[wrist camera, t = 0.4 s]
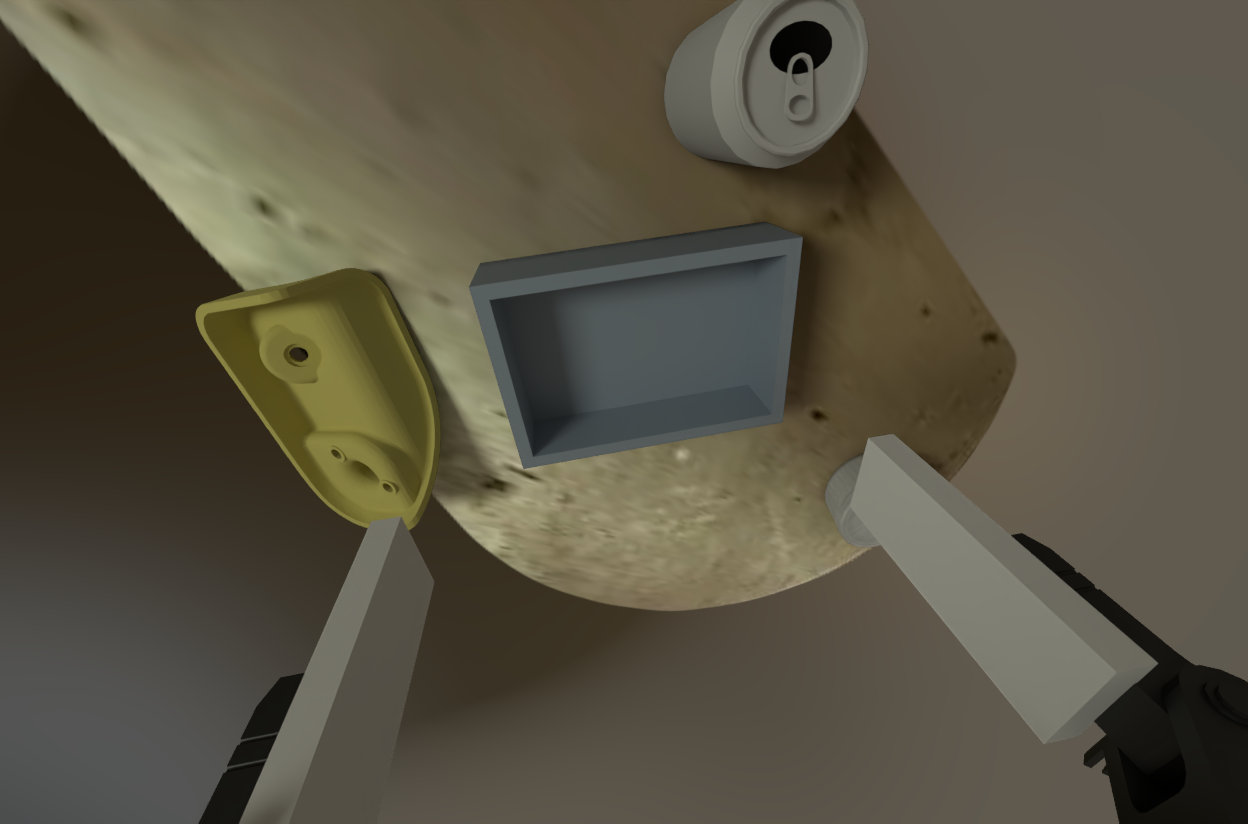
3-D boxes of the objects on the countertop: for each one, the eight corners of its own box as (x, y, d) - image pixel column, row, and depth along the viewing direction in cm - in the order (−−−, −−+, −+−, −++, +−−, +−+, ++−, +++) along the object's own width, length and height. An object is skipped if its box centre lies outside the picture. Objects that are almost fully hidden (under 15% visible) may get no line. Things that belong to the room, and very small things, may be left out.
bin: (480, 263, 33) (468, 287, 28) (765, 221, 34) (802, 236, 29) (525, 427, 41) (523, 468, 36) (754, 387, 43) (782, 422, 38)
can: (776, 17, 28) (907, -48, 18) (763, 154, 32) (864, 165, 22) (660, 23, 27) (728, -41, 17) (661, 162, 31) (717, 177, 21)
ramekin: (863, 523, 57) (890, 556, 52) (796, 504, 53) (820, 538, 48) (925, 456, 52) (961, 486, 47) (857, 430, 48) (889, 461, 43)
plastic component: (181, 308, 29) (280, 290, 26) (283, 276, 35) (374, 259, 32) (336, 525, 39) (423, 534, 35) (395, 471, 45) (475, 475, 41)
